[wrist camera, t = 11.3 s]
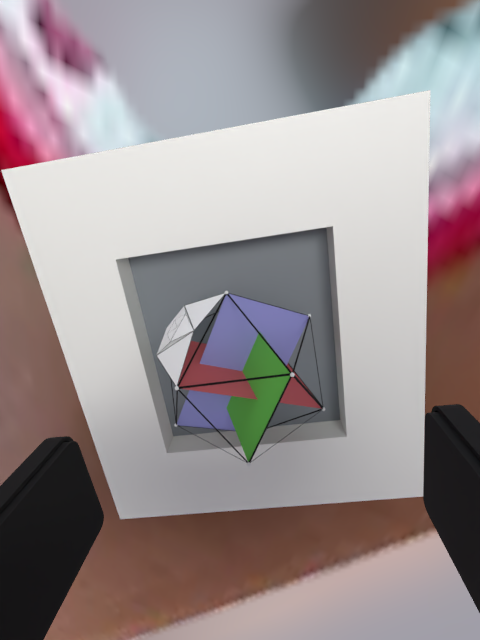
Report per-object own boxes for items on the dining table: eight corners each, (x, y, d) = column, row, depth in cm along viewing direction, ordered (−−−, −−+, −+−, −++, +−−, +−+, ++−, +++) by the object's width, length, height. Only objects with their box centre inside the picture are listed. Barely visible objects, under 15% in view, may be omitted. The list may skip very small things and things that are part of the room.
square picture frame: (403, 109, 15) (430, 90, 13) (404, 464, 21) (423, 496, 19) (37, 176, 17) (1, 170, 14) (134, 487, 23) (120, 519, 20)
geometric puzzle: (376, 338, 15) (296, 360, 9) (313, 451, 17) (211, 535, 11) (260, 276, 19) (144, 260, 13) (219, 375, 21) (103, 405, 15)
